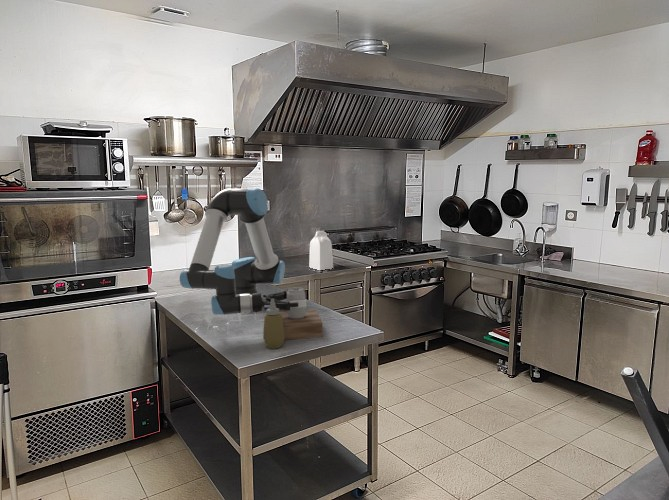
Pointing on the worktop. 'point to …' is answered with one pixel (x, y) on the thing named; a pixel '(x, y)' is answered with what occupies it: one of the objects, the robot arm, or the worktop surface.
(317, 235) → the milk
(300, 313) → the can
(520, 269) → the worktop surface
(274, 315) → the squeeze bottle
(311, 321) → the walnut block
